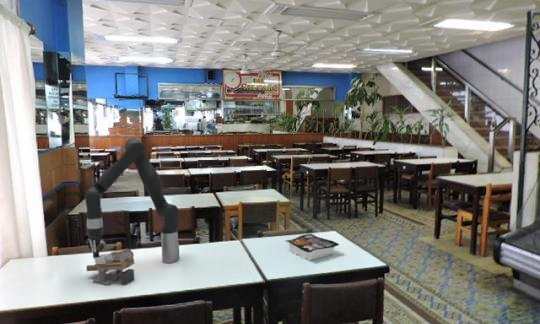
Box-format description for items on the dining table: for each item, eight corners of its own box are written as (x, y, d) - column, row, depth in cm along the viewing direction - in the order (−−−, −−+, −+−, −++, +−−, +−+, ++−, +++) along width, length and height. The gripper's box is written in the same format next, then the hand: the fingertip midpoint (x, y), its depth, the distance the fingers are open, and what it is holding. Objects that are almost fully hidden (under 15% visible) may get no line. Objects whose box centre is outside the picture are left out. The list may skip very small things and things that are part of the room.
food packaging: (283, 239, 233) (311, 233, 246) (283, 251, 234) (311, 244, 246) (309, 251, 212) (339, 243, 225) (309, 264, 213) (339, 255, 226)
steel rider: (103, 263, 200) (102, 254, 200) (113, 263, 197) (111, 253, 197) (96, 267, 196) (94, 257, 196) (106, 266, 193) (104, 257, 193)
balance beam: (99, 267, 204) (97, 257, 204) (135, 265, 194) (132, 255, 194) (87, 273, 197) (85, 262, 197) (123, 271, 187) (121, 260, 187)
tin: (132, 260, 221) (131, 246, 220) (134, 262, 219) (133, 248, 218) (106, 268, 210) (105, 253, 209) (108, 269, 208) (107, 254, 207)
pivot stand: (114, 272, 205) (113, 259, 204) (140, 277, 198) (139, 264, 197) (93, 282, 192) (92, 269, 191) (119, 288, 185) (118, 274, 184)
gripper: (110, 225, 198) (111, 258, 200) (91, 222, 203) (92, 254, 205) (98, 229, 191) (99, 263, 193) (79, 226, 196) (80, 258, 198)
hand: (96, 258), depth 199 cm, fingers closed
